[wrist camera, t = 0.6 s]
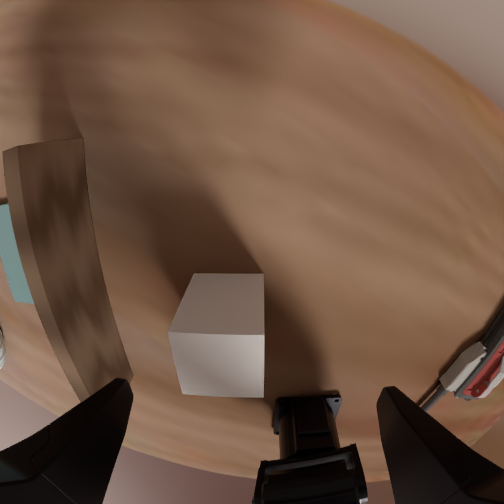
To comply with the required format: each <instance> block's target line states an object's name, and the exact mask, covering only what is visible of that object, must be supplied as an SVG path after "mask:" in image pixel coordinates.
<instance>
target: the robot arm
mask: <svg viewBox="0 0 504 504" xmlns="http://www.w3.org/2000/svg"><path fill="white" fill-rule="evenodd" d="M341 401H342V398H341V396H340V395H327V396H314V397H294V398H278V399H277V400H276V404H275V418H274V434H276V435H279V443H280V459H279V460H271V461H267V460H264V461H261V464H260V468H259V470H258V475H257V481H256V487H255V493H254V496H253V499H252V504H364V503H368V494H367V487H366V481H365V476H364V472H363V468H362V465H361V461H360V457H359V454H358V450H357V447H356V443H355V444H351V445H350V446H347V447H343V448H340V443H339V438H338V433H337V428H336V423H335V419H336V416H337V413H338V410H339V407H340V404H341ZM132 403H133V392H132V390H131V387H130V384H129V381H128V380H127V379H124V378H115V379H114V380H112V381H111V382H109V383H108V384H107V385H105V386H104V387H102V388H101V389H99V390H98V391H97V392H95V393H94V394H92V395H91V396H89V397H88V398H87V399H85V400H84V401H82V402H81V403H79V404H78V405H77V406H75V407H74V408H72V409H71V410H69V411H68V412H66V413H65V414H63V415H62V416H61V417H59V418H58V419H56V420H55V421H53V422H52V423H50V425H47V426H46V427H44V428H43V429H41V430H40V431H38V432H36V433H35V434H33V435H32V436H30V437H28V438H26V439H24V440H22V441H21V442H18V443H16V444H15V445H12V446H10V447H9V448H6V449H4V450H2V451H0V504H102V503H103V500H104V497H105V493H106V490H107V487H108V484H109V481H110V477H111V474H112V471H113V468H114V465H115V462H116V459H117V456H118V453H119V451H120V447H121V445H122V442H123V439H124V436H125V433H126V429H127V424H128V420H129V415H130V411H131V407H132ZM377 413H378V420H379V427H380V435H381V442H382V446H383V450H384V454H385V458H386V463H387V467H388V471H389V475H390V480H391V484H392V488H393V494H394V499H395V503H396V504H504V469H503V468H501V467H499V466H497V465H496V464H494V463H493V462H491V461H489V460H488V459H486V458H484V457H483V456H481V455H480V454H478V453H477V452H475V451H474V450H472V449H471V448H470V447H469V446H467V445H466V444H465V443H463V442H462V441H461V440H460V439H458V438H457V437H456V436H455V435H453V434H452V433H451V432H450V431H449V430H447V429H446V428H445V427H444V426H442V425H441V424H440V423H439V422H438V421H436V420H435V419H434V418H433V417H431V416H430V415H429V414H428V413H427V412H425V411H424V410H423V409H422V408H421V407H419V406H418V405H417V404H416V403H415V402H413V401H412V400H411V399H410V398H409V397H407V396H406V395H405V394H404V393H403V392H401V391H400V390H399V389H398V388H397V387H395V386H389V387H384V388H383V389H382V392H381V394H380V396H379V399H378V401H377ZM351 468H352V469H351Z"/></svg>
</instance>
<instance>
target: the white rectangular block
mask: <svg viewBox="0 0 504 504" xmlns="http://www.w3.org/2000/svg"><path fill="white" fill-rule="evenodd" d="M168 337H169V341H170V346H171V350H172V354H173V359H174V363H175V367H176V371H177V375H178V379H179V383H180V386H181V390H182V394H190V395H203V396H219V397H247V398H264V274H213V273H194V274H193V276H192V279H191V281H190V283H189V285H188V287H187V289H186V292H185V294H184V296H183V298H182V300H181V303H180V305H179V307H178V309H177V311H176V314H175V316H174V318H173V320H172V323H171V325H170V327H169V329H168Z"/></svg>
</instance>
